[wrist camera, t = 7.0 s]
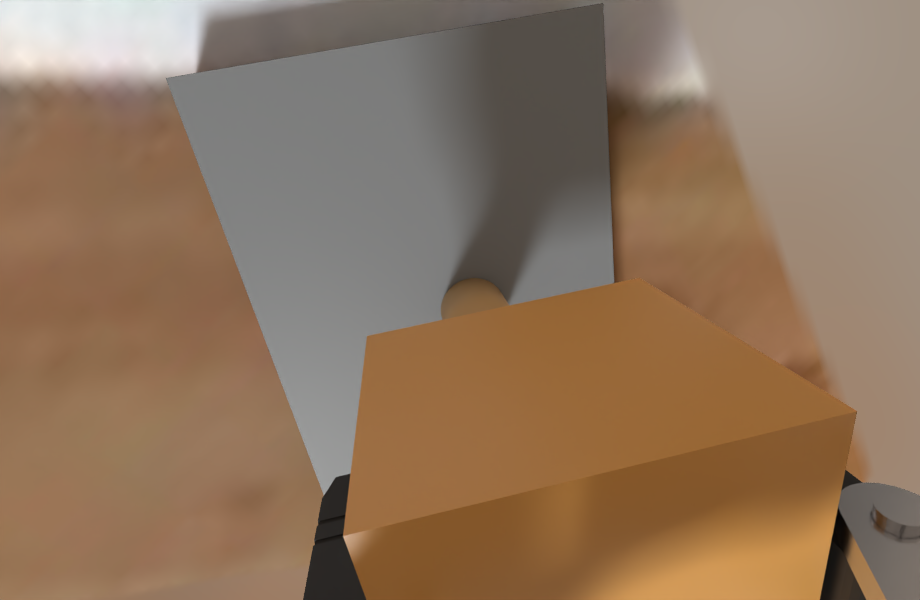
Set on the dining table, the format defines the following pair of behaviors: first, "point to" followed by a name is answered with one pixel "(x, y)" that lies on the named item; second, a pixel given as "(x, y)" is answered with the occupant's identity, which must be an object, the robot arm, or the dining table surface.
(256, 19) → the dining table surface
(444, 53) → the board
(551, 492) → the matte orange cube
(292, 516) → the dining table surface
